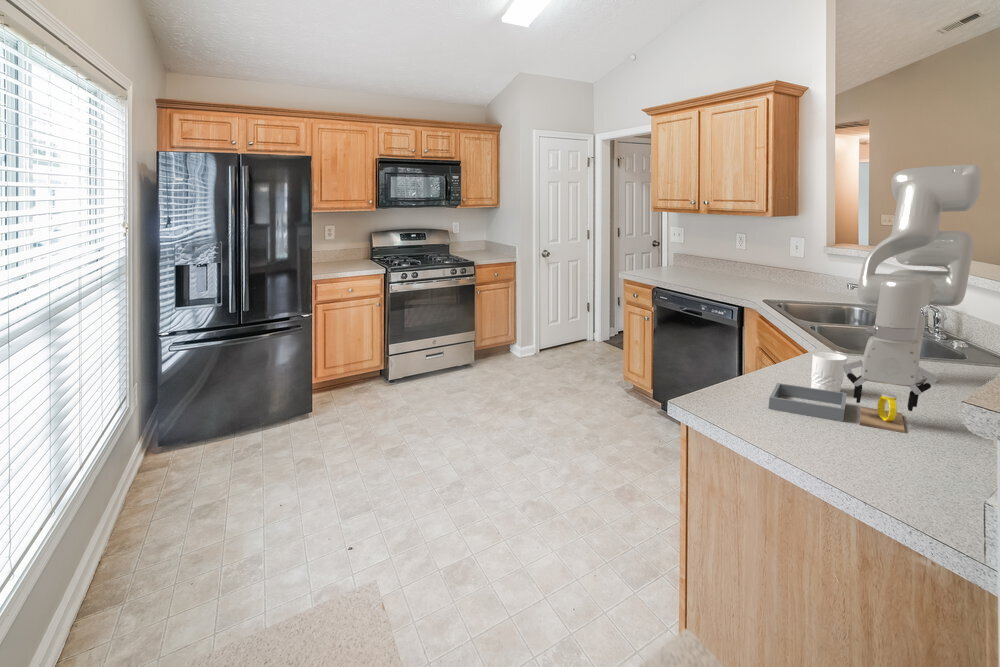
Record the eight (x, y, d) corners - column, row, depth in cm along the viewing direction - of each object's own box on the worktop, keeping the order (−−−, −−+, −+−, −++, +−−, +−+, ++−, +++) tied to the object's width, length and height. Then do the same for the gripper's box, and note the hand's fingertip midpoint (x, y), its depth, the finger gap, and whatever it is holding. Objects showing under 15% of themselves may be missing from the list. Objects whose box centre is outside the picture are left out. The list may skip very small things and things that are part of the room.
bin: (776, 393, 137) (777, 382, 136) (845, 404, 128) (846, 393, 127) (768, 408, 126) (769, 397, 125) (843, 421, 117) (844, 409, 116)
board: (860, 408, 125) (860, 406, 124) (901, 415, 120) (901, 413, 120) (859, 424, 115) (860, 422, 115) (904, 432, 110) (904, 430, 110)
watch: (897, 425, 114) (902, 401, 112) (883, 424, 114) (888, 400, 113) (886, 414, 119) (890, 390, 117) (872, 413, 120) (876, 390, 118)
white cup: (847, 396, 133) (852, 360, 131) (815, 395, 135) (819, 359, 133) (834, 387, 141) (839, 352, 139) (804, 385, 142) (808, 351, 140)
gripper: (847, 332, 115) (838, 403, 119) (947, 341, 105) (933, 418, 109) (848, 326, 121) (839, 394, 125) (942, 334, 111) (930, 407, 115)
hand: (883, 405), depth 117 cm, fingers open, 9 cm apart
